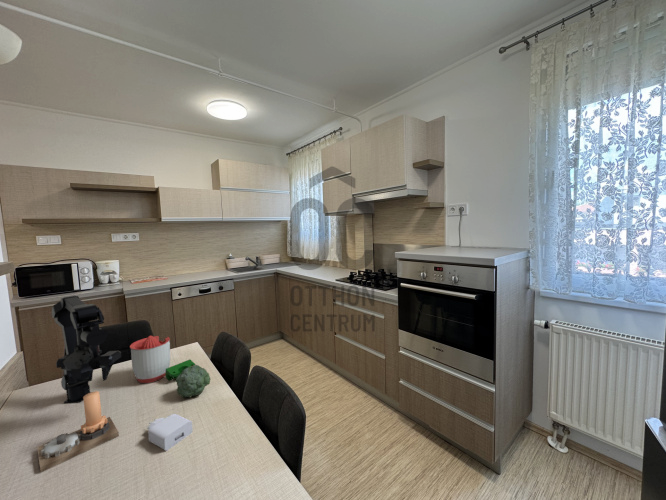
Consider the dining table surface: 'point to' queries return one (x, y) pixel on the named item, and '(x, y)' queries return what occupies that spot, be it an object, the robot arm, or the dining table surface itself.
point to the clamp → (177, 369)
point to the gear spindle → (93, 413)
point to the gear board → (77, 448)
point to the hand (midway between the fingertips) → (91, 381)
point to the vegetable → (192, 381)
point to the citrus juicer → (150, 358)
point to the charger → (169, 431)
